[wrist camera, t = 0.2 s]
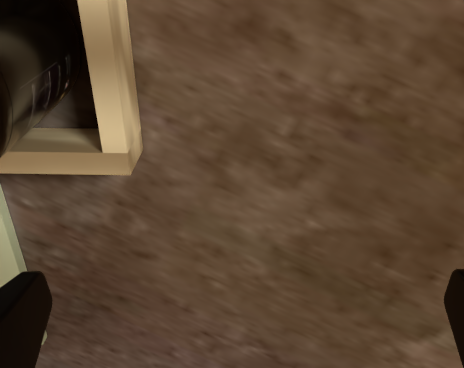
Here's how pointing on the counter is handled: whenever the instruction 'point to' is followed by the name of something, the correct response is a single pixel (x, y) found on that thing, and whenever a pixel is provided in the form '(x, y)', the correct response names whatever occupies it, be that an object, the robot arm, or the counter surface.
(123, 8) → the birch collar
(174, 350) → the counter surface
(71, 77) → the supplement bottle
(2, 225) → the sage board
